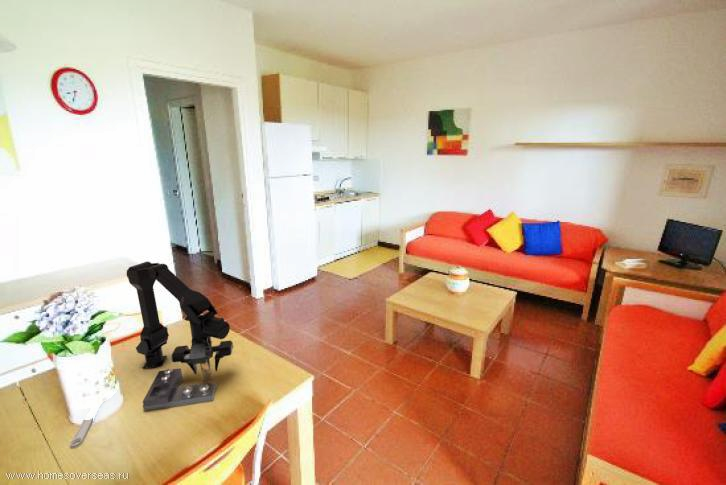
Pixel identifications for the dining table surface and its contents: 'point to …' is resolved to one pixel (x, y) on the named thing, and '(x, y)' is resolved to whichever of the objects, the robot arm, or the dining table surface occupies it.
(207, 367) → the pin
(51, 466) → the dining table surface
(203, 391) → the chain ends
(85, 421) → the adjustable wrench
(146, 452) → the dining table surface
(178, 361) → the robot arm
